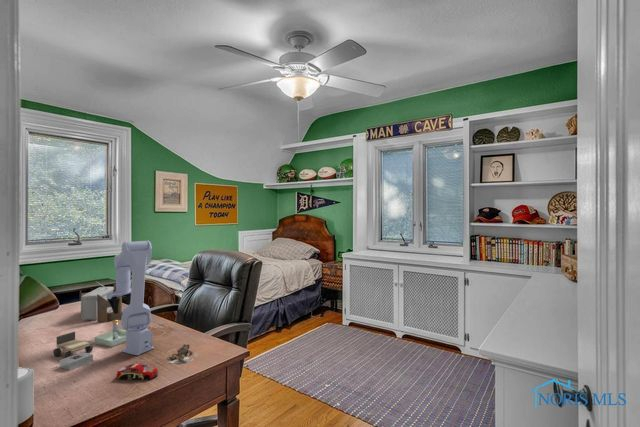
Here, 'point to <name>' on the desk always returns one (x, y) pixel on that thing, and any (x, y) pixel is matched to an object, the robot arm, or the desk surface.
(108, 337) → the tray
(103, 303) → the wooden block
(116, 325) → the pin
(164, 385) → the desk surface
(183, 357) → the frog figurine
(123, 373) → the race car
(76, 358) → the plate
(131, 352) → the robot arm
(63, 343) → the ramp trolley
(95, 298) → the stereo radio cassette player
